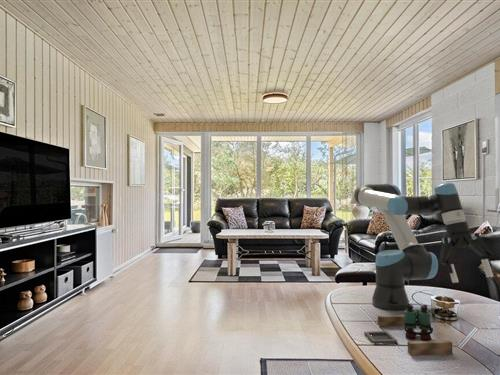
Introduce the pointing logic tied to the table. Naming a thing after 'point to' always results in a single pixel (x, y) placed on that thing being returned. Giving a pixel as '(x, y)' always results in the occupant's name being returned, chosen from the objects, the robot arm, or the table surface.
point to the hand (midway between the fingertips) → (472, 279)
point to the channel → (417, 346)
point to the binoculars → (417, 323)
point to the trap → (380, 337)
